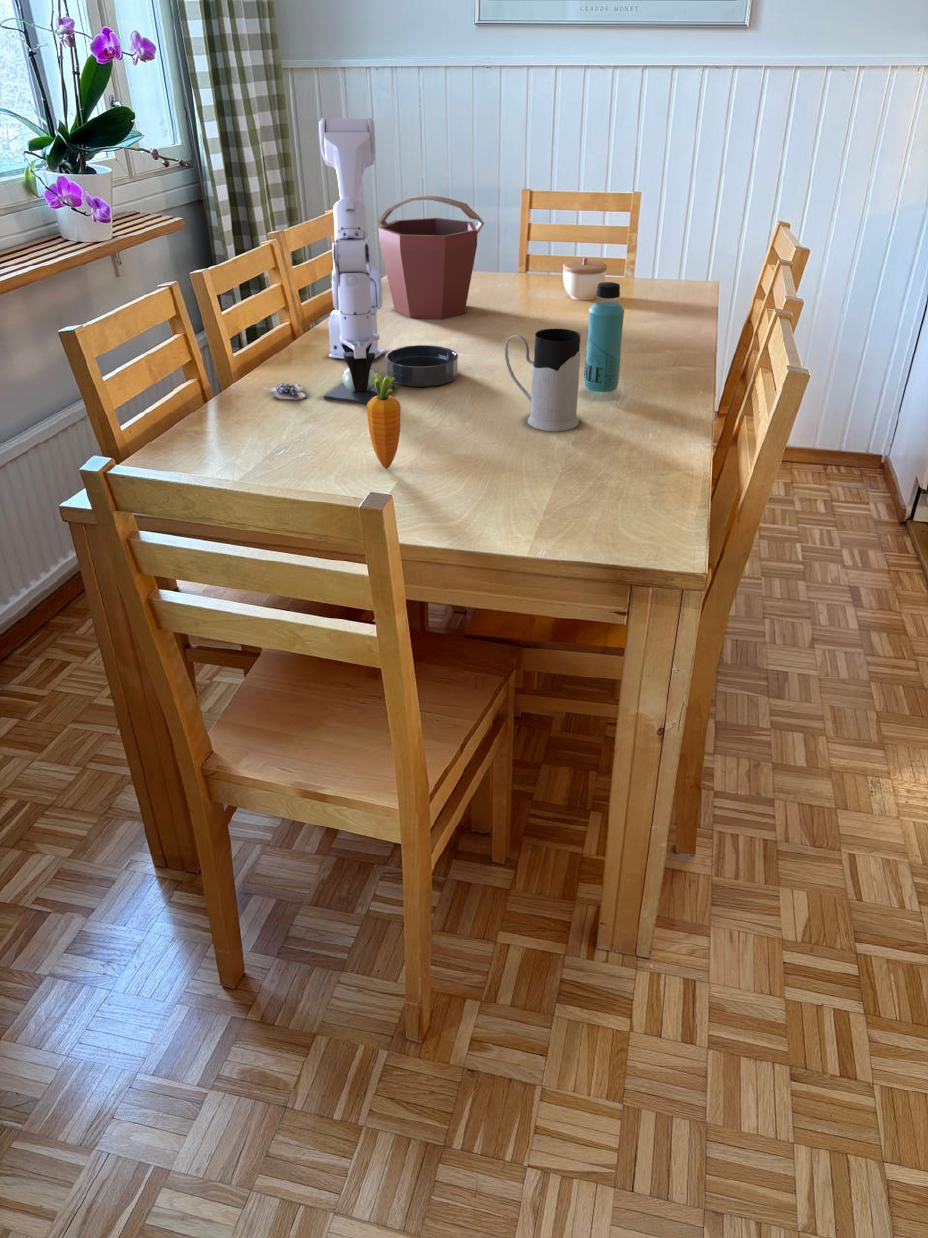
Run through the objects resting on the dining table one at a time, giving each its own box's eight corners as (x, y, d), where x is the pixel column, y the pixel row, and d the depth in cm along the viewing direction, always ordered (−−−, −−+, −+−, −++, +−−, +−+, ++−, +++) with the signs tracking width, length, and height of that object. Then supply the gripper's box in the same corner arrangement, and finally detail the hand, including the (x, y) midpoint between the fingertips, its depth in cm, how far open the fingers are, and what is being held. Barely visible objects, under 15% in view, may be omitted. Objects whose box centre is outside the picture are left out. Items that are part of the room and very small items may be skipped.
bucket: (498, 306, 226) (500, 194, 212) (447, 328, 210) (446, 208, 197) (414, 293, 237) (411, 185, 223) (361, 313, 221) (354, 198, 208)
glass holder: (564, 434, 157) (569, 345, 149) (491, 418, 163) (492, 331, 155) (587, 418, 163) (593, 332, 155) (515, 403, 169) (518, 319, 161)
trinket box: (562, 291, 239) (564, 252, 234) (604, 292, 238) (607, 253, 233) (560, 301, 230) (562, 261, 225) (604, 303, 229) (607, 263, 224)
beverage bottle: (620, 390, 175) (631, 280, 165) (613, 402, 170) (624, 288, 159) (586, 386, 177) (594, 277, 166) (578, 398, 172) (586, 285, 161)
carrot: (370, 462, 147) (365, 368, 139) (402, 461, 147) (398, 367, 139) (370, 475, 143) (365, 379, 135) (403, 474, 143) (399, 378, 135)
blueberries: (292, 384, 178) (291, 374, 177) (317, 394, 173) (317, 384, 172) (262, 392, 174) (261, 382, 173) (287, 403, 169) (286, 393, 168)
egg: (344, 395, 172) (342, 371, 169) (342, 387, 175) (341, 364, 173) (378, 393, 172) (376, 370, 170) (375, 385, 176) (374, 362, 174)
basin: (374, 383, 179) (372, 362, 177) (403, 361, 190) (402, 342, 188) (442, 391, 175) (441, 370, 173) (468, 369, 186) (468, 349, 184)
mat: (323, 398, 172) (323, 395, 171) (348, 381, 180) (348, 379, 179) (373, 405, 169) (373, 402, 168) (395, 387, 177) (395, 385, 176)
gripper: (381, 320, 161) (385, 397, 168) (374, 299, 173) (377, 372, 180) (340, 322, 160) (345, 399, 167) (336, 301, 172) (341, 373, 179)
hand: (359, 385), depth 173 cm, fingers open, 5 cm apart
